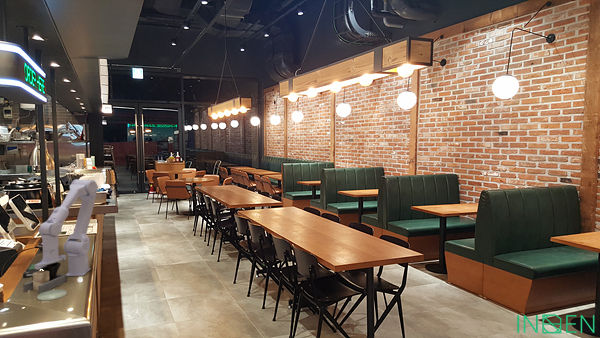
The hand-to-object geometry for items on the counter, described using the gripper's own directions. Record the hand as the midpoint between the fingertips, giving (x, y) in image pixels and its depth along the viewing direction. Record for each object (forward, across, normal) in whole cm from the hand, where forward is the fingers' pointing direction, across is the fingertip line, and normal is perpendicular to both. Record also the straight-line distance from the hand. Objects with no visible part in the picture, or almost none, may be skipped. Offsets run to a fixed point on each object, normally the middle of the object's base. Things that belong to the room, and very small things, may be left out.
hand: (51, 280), depth 168 cm
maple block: (+2, +5, 0) cm, 5 cm away
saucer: (+2, +11, +10) cm, 15 cm away
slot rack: (+2, +4, 0) cm, 4 cm away
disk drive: (+2, -12, -17) cm, 21 cm away
